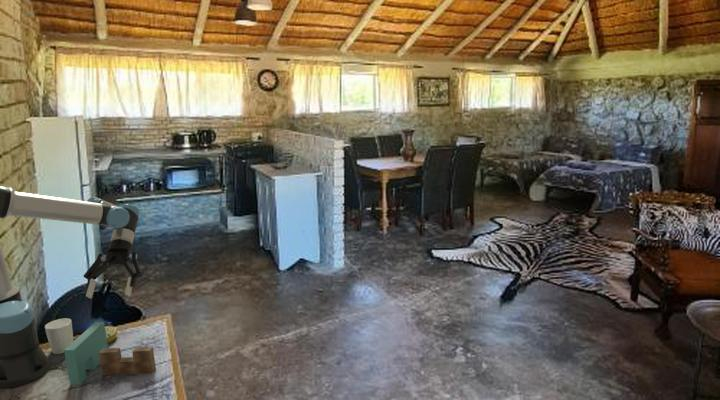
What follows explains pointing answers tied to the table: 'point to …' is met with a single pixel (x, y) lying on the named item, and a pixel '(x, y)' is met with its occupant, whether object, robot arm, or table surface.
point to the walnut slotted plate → (127, 361)
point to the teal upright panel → (85, 352)
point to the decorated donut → (110, 333)
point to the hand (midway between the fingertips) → (108, 296)
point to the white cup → (59, 335)
